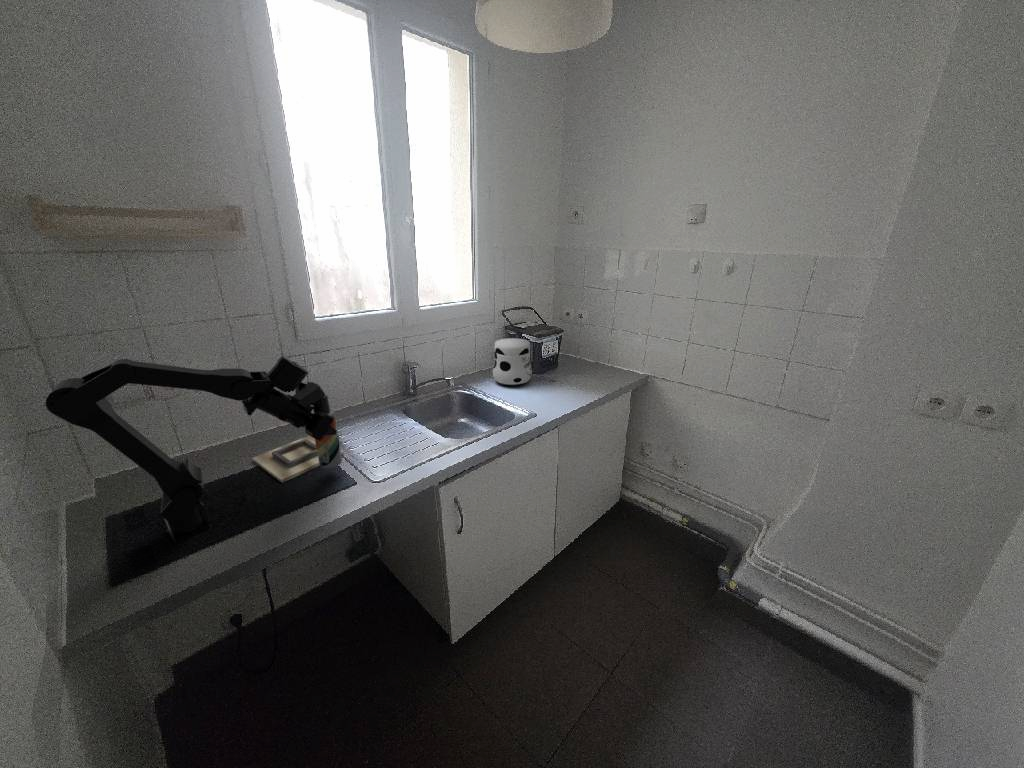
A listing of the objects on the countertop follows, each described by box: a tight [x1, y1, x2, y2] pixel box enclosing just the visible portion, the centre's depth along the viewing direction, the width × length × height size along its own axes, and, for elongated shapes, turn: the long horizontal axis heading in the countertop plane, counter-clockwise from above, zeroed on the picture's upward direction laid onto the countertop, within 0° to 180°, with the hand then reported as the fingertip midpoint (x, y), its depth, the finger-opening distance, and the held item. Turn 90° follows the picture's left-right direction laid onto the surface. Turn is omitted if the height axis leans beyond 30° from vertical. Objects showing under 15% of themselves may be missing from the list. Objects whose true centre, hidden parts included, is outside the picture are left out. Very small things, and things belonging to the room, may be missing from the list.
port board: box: [251, 435, 345, 484], centre depth 118 cm, size 18×18×2 cm
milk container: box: [492, 337, 533, 387], centre depth 174 cm, size 17×17×18 cm
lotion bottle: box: [311, 394, 343, 469], centre depth 105 cm, size 6×6×20 cm
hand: (330, 429), depth 107 cm, fingers closed on lotion bottle, 5 cm apart
